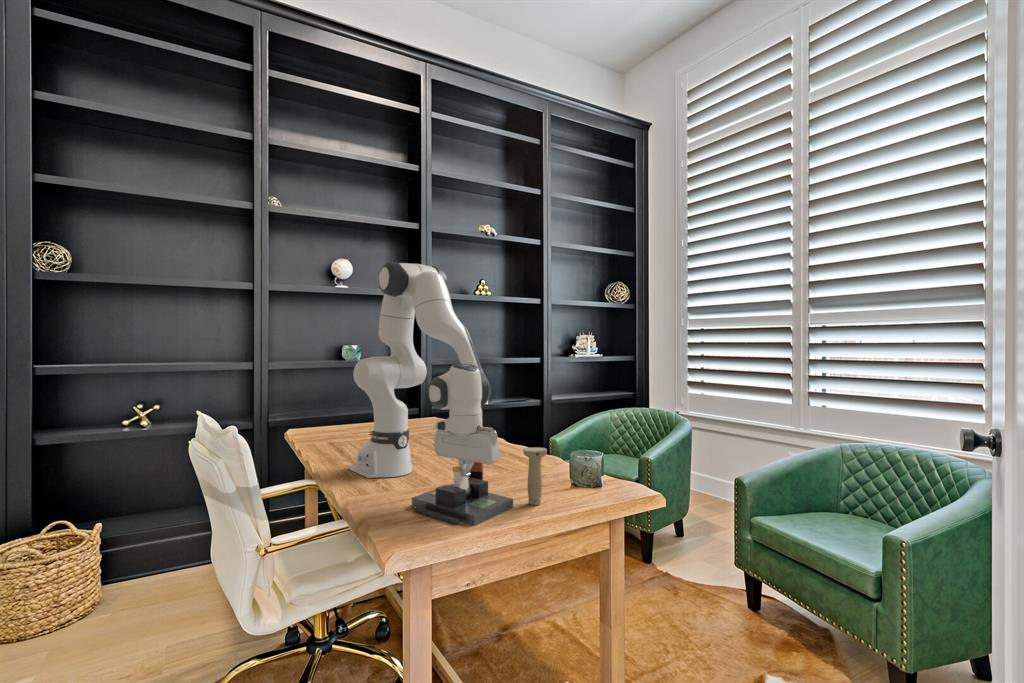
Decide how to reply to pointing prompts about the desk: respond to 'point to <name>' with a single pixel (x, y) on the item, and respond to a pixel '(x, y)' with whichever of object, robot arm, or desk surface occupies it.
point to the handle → (535, 473)
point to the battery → (477, 471)
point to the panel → (464, 509)
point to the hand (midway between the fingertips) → (466, 476)
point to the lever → (461, 480)
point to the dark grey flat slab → (436, 515)
